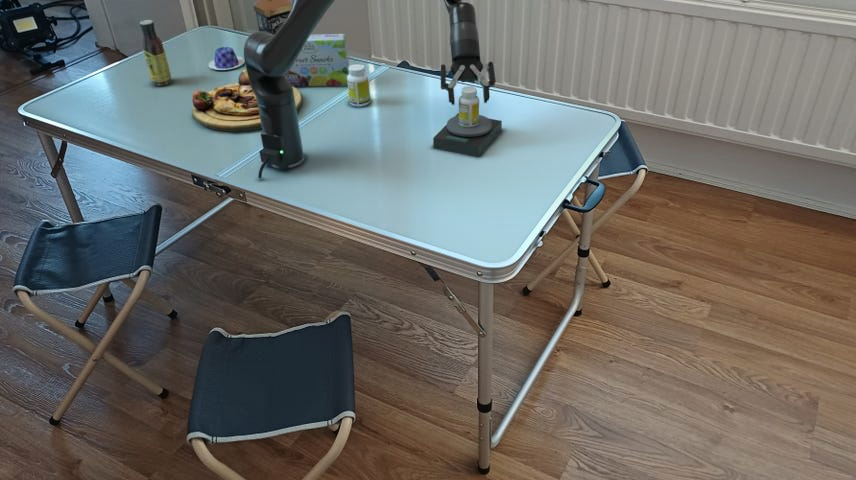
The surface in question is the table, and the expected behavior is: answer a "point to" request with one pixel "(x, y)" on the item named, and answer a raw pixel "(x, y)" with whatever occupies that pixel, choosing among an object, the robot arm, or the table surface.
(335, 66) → the snack box
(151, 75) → the sauce bottle
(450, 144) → the kitchen scale
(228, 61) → the pudding
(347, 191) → the table surface
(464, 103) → the supplement bottle
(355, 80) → the pill bottle
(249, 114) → the wooden plate
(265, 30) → the whiskey bottle
